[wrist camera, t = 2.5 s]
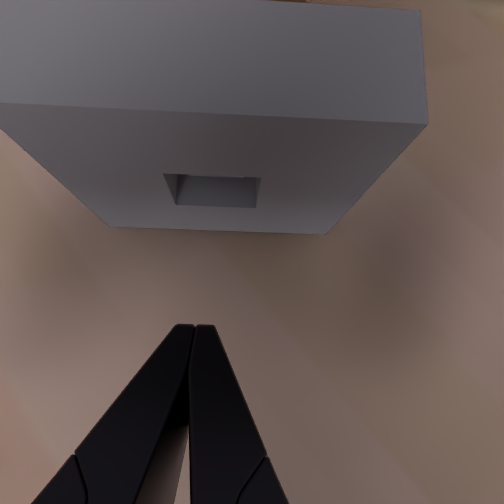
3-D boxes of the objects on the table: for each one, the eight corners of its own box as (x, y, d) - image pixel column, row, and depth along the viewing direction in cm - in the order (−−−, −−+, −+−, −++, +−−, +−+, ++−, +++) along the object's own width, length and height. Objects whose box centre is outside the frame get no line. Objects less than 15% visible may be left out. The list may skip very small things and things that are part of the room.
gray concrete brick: (325, 234, 19) (428, 123, 9) (109, 226, 18) (-30, 100, 9) (324, 174, 19) (420, 10, 10) (115, 165, 19) (-8, -17, 9)
